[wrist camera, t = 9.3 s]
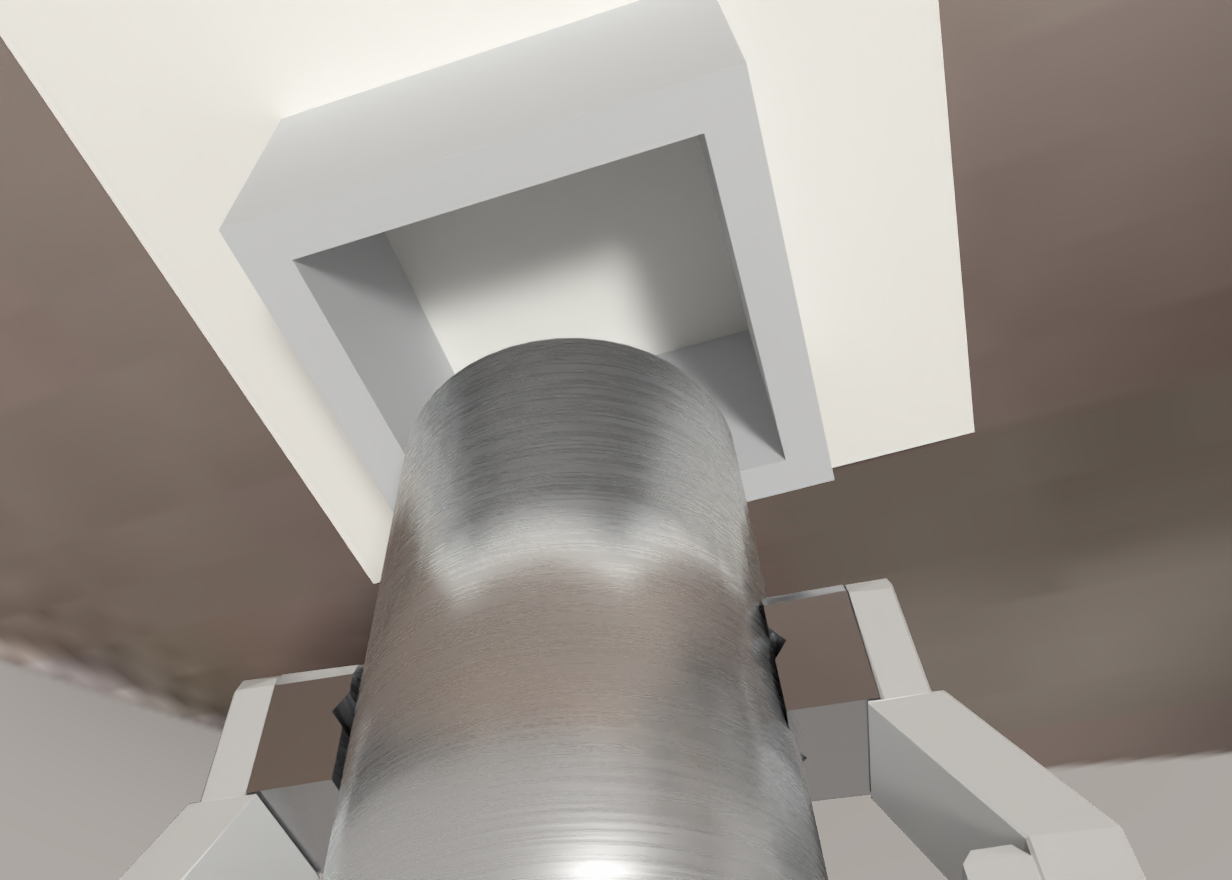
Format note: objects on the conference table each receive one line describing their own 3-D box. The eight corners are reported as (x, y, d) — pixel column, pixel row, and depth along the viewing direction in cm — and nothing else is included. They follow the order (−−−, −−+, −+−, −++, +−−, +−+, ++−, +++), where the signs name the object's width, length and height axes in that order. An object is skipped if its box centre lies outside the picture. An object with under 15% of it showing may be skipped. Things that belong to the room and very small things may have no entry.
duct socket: (-17, -43, 17) (-203, 58, 13) (887, -382, 15) (1021, -394, 11) (378, 557, 27) (346, 727, 23) (961, 407, 25) (1046, 565, 21)
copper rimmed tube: (337, 364, 13) (29, 1345, 6) (727, 292, 13) (973, 1253, 5) (451, 619, 17) (356, 1455, 9) (764, 569, 16) (947, 1403, 9)
